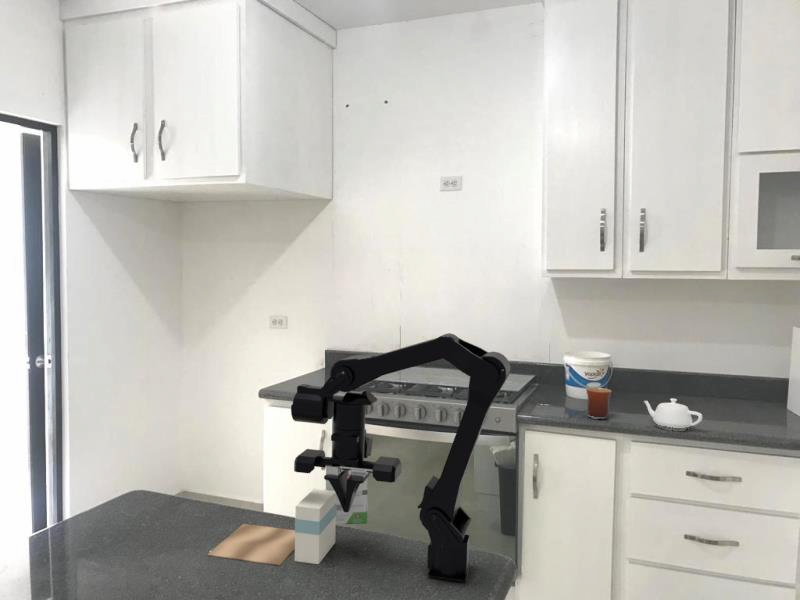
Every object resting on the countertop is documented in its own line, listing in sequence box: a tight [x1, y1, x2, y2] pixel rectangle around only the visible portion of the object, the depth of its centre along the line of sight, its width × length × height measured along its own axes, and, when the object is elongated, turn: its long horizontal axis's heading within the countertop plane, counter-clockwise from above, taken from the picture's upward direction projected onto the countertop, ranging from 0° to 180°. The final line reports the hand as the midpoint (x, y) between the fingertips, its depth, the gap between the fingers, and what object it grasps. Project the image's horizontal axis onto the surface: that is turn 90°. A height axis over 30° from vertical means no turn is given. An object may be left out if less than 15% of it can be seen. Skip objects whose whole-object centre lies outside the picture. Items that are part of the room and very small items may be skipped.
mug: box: [585, 387, 613, 417], centre depth 228 cm, size 12×9×10 cm
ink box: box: [325, 470, 369, 526], centre depth 130 cm, size 9×5×12 cm, turn 96°
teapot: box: [643, 397, 703, 428], centre depth 215 cm, size 20×12×10 cm, turn 44°
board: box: [206, 523, 295, 567], centre depth 118 cm, size 14×14×1 cm
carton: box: [294, 488, 337, 565], centre depth 115 cm, size 5×9×10 cm, turn 167°
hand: (346, 511), depth 114 cm, fingers closed
